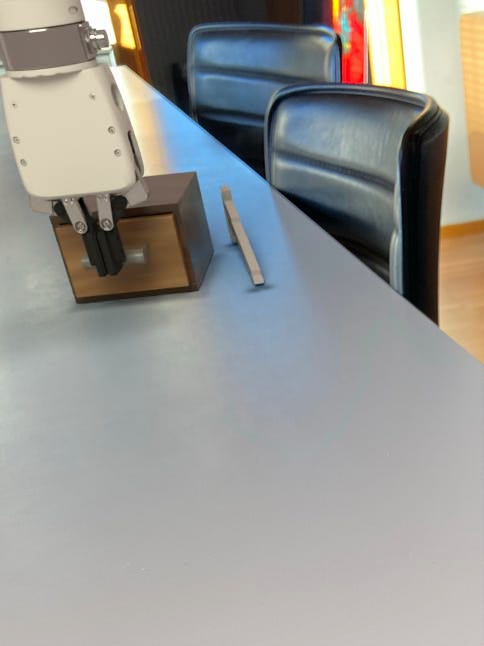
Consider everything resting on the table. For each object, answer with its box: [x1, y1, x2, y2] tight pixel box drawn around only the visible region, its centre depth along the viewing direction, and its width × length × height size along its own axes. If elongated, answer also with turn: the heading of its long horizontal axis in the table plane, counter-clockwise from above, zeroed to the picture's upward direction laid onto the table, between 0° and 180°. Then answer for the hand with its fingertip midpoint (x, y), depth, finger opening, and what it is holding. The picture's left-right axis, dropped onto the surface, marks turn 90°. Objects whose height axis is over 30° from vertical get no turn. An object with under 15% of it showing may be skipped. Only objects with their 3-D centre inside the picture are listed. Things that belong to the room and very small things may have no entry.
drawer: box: [56, 212, 190, 298], centre depth 105 cm, size 18×11×7 cm, turn 6°
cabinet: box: [48, 170, 215, 304], centre depth 108 cm, size 15×13×9 cm
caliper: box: [219, 184, 265, 285], centre depth 111 cm, size 20×1×6 cm, turn 19°
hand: (111, 271), depth 97 cm, fingers closed
